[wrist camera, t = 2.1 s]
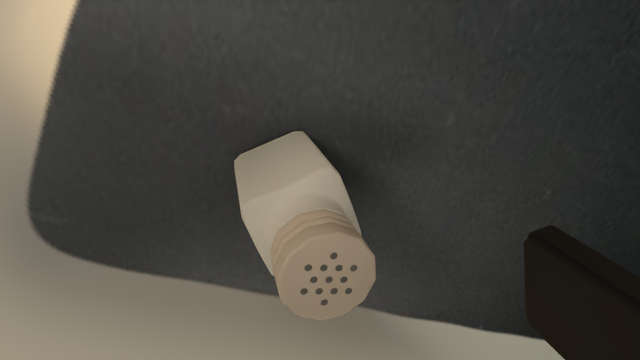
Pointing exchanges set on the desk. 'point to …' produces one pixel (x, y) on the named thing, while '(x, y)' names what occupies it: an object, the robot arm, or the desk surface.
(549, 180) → the desk surface
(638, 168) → the desk surface
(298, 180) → the pepper shaker
